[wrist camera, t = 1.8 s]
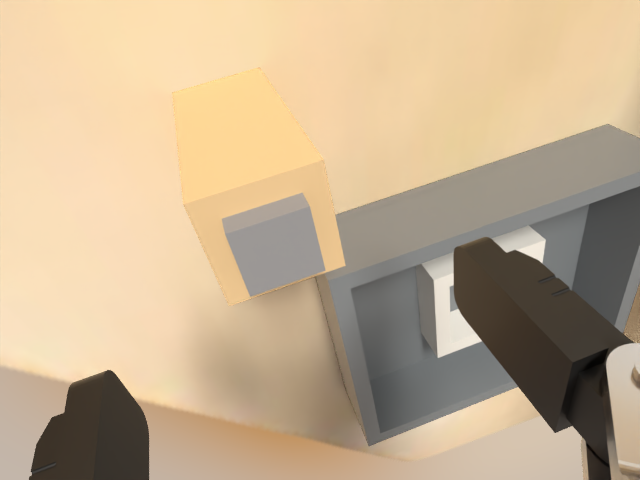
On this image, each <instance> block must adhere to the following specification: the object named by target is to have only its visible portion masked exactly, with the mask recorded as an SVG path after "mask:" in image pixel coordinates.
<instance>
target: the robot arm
mask: <svg viewBox="0 0 640 480" xmlns="http://www.w3.org/2000/svg"><path fill="white" fill-rule="evenodd" d="M453 262H454V298H455V301H456V304H457V307H458V309H459V311H460V313H461V314H462V316H463V317H464V319H465V320H466V321H467V323H468V324H469V325H470V326H471V328H472V329H473V330H474V331H475V333H476V334H477V335H478V336H479V338H480V339H481V340H482V342H483V343H484V344H485V345H486V347H487V348H488V349H489V350H490V352H491V353H492V354H493V355H494V357H495V358H496V359H497V360H498V362H499V363H500V364H501V365H502V367H503V368H504V369H505V370H506V372H507V373H508V374H509V376H510V377H511V378H512V379H513V381H514V382H515V383H516V384H517V386H518V387H519V388H520V389H521V391H522V392H523V393H524V394H525V396H526V397H527V398H528V399H529V401H530V402H531V403H532V404H533V406H534V407H535V408H536V410H537V411H538V412H539V413H540V415H541V416H542V417H543V418H544V420H545V421H546V422H547V423H548V425H549V426H550V427H551V428H552V430H553V431H554V432H555V433H556V432H558V431H561V430H563V429H565V428H568V427H570V426H573V427H574V428H575V429H576V430H577V431H578V432H579V434H580V435H581V436H582V440H581V452H582V466H583V480H640V343H634V342H633V341H631V340H630V339H629V338H627V337H626V336H625V335H624V334H623V333H621V332H620V331H619V330H618V329H617V328H616V327H615V326H613V325H612V324H611V323H610V322H609V321H608V320H607V319H605V318H604V317H603V316H602V315H601V314H600V313H598V312H597V311H596V310H595V309H594V308H593V307H592V306H590V305H589V304H588V303H587V302H586V301H585V300H584V299H582V298H581V297H580V296H579V295H578V294H577V293H576V292H574V291H573V290H572V291H571V290H570V289H569V286H567V285H566V284H565V283H564V282H563V281H562V280H561V279H559V278H556V277H555V274H554V273H553V272H551V271H550V270H549V269H548V268H547V267H546V266H545V265H543V264H542V263H541V262H540V261H539V260H537V259H535V258H533V257H531V256H528V255H526V254H524V253H522V252H519V251H517V250H513V251H510V252H507V253H506V252H505V251H504V250H503V249H502V248H501V247H500V246H499V245H498V244H497V243H495V242H494V241H493V240H492V239H491V238H489V237H483V238H480V239H477V240H474V241H471V242H469V243H466V244H463V245H460V246H457V247H456V248H455V249H454V254H453ZM31 472H32V476H30V477H29V480H149V431H148V425H147V421H146V418H145V415H144V413H143V411H142V409H141V407H140V406H139V405H138V403H137V402H136V401H135V399H134V398H133V397H132V396H131V394H130V393H129V392H128V390H127V389H126V388H125V386H124V385H123V384H122V382H121V381H120V380H119V378H118V377H117V376H116V374H115V373H114V372H112V371H111V370H107V371H105V372H102V373H99V374H96V375H93V376H91V377H88V378H85V379H82V380H79V381H77V382H74V383H72V384H71V385H70V387H69V390H68V394H67V400H66V406H65V412H64V413H63V414H60V415H57V416H55V417H52V418H51V420H50V422H49V423H48V425H47V427H46V429H45V430H44V432H43V434H42V436H41V438H40V439H39V441H38V443H37V445H36V449H35V454H34V459H33V463H32V469H31Z"/></svg>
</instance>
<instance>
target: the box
mask: <svg viewBox="0 0 640 480" xmlns="http://www.w3.org/2000/svg"><path fill="white" fill-rule="evenodd" d="M335 217H336V222H337V226H338V231H339V236H340V241H341V246H342V250H343V255H344V260H345V265H346V266H344V267H341V268H338V269H335V270H332V271H329V272H326V273H323V274H321V275H318V276H315V277H316V281H317V284H318V288H319V292H320V295H321V299H322V303H323V307H324V310H325V314H326V318H327V322H328V325H329V329H330V333H331V337H332V340H333V344H334V348H335V351H336V355H337V359H338V363H339V366H340V370H341V374H342V378H343V381H344V385H345V389H346V391H347V394H348V396H349V399H350V401H351V403H352V406H353V408H354V411H355V413H356V416H357V418H358V421H359V423H360V426H361V428H362V431H363V433H364V436H365V438H366V441H367V443H368V445H369V446H371V445H373V444H376V443H378V442H381V441H383V440H386V439H388V438H391V437H393V436H396V435H398V434H401V433H403V432H406V431H408V430H411V429H413V428H416V427H418V426H421V425H423V424H426V423H428V422H431V421H433V420H436V419H438V418H441V417H443V416H446V415H448V414H451V413H453V412H456V411H458V410H461V409H463V408H466V407H468V406H471V405H473V404H476V403H478V402H481V401H484V400H486V399H489V398H491V397H494V396H496V395H499V394H501V393H504V392H506V391H509V390H511V389H514V388H516V387H518V386H517V384H516V383H515V382H514V381H513V379H512V378H511V377H510V376H509V374H508V373H507V372H506V370H505V369H504V368H503V367H502V365H501V364H500V363H499V362H498V360H497V359H496V358H495V357H494V355H493V354H492V353H491V352H490V350H489V349H488V348H487V347H486V345H485V344H484V343H483V342H482V340H481V339H480V338H479V336H478V335H477V334H476V333H475V331H474V330H473V329H472V328H471V326H470V325H469V324H468V323H467V321H466V320H465V319H464V317H463V316H462V314H461V313H460V311H459V309H458V307H457V304H456V301H455V298H454V262H453V254H454V249H455V248H456V247H457V246H460V245H463V244H466V243H469V242H471V241H474V240H477V239H480V238H483V237H489V238H491V239H492V240H493V241H494V242H495V243H497V244H498V245H499V246H500V247H501V248H502V249H503V250H504V251H505V252H506V253H507V252H510V251H513V250H517V251H519V252H522V253H524V254H526V255H528V256H531V257H533V258H535V259H537V260H539V261H540V262H541V263H542V264H543V265H545V266H546V267H547V268H548V269H549V270H550V271H551V272H553V273H554V274H555V277H556V278H559V279H561V280H562V281H563V282H564V283H565V284H566V285H567V286H569V289H570V290H571V291H572V290H573V291H574V292H576V293H577V294H578V295H579V296H580V297H581V298H582V299H584V300H585V301H586V302H587V303H588V304H589V305H590V306H592V307H593V308H594V309H595V310H596V311H597V312H598V313H600V314H601V315H602V316H603V317H604V318H605V319H607V320H608V321H609V322H610V323H611V324H612V325H613V326H615V327H616V328H617V329H618V330H619V331H620V332H621V333H623V332H624V328H625V325H626V322H627V319H628V316H629V313H630V310H631V307H632V304H633V301H634V298H635V295H636V292H637V289H638V286H639V283H640V138H638V137H636V136H633V135H631V134H629V133H627V132H625V131H622V130H620V129H618V128H616V127H614V126H611V125H609V124H607V125H604V126H601V127H598V128H595V129H592V130H589V131H586V132H583V133H580V134H577V135H574V136H571V137H568V138H565V139H562V140H559V141H556V142H553V143H550V144H547V145H544V146H541V147H538V148H535V149H532V150H529V151H526V152H523V153H520V154H517V155H514V156H511V157H508V158H505V159H502V160H499V161H496V162H493V163H490V164H487V165H484V166H481V167H478V168H475V169H472V170H469V171H466V172H463V173H460V174H457V175H454V176H451V177H448V178H445V179H442V180H439V181H436V182H433V183H430V184H427V185H424V186H421V187H418V188H415V189H412V190H409V191H406V192H403V193H400V194H397V195H394V196H391V197H388V198H385V199H382V200H379V201H376V202H373V203H370V204H367V205H364V206H361V207H358V208H355V209H352V210H349V211H346V212H343V213H340V214H337V215H335Z"/></svg>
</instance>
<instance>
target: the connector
mask: <svg viewBox="0 0 640 480" xmlns="http://www.w3.org/2000/svg"><path fill="white" fill-rule="evenodd" d="M172 95H173V105H174V115H175V125H176V136H177V146H178V156H179V166H180V176H181V186H182V197H183V205H184V207H185V209H186V212H187V214H188V216H189V218H190V220H191V223H192V225H193V227H194V229H195V231H196V234H197V236H198V238H199V240H200V243H201V245H202V247H203V249H204V251H205V254H206V256H207V258H208V260H209V263H210V265H211V267H212V269H213V271H214V274H215V276H216V278H217V280H218V283H219V285H220V287H221V289H222V291H223V294H224V296H225V298H226V300H227V302H228V305H229V306H232V305H234V304H237V303H240V302H243V301H246V300H249V299H252V298H255V297H257V296H260V295H263V294H266V293H269V292H272V291H275V290H278V289H280V288H283V287H286V286H289V285H292V284H295V283H298V282H300V281H303V280H306V279H309V278H312V277H315V276H318V275H321V274H323V273H326V272H329V271H332V270H335V269H338V268H341V267H344V266H346V265H345V260H344V255H343V250H342V246H341V241H340V236H339V231H338V226H337V222H336V217H335V212H334V207H333V202H332V198H331V193H330V188H329V183H328V178H327V174H326V169H325V164H324V159H323V158H322V157H321V155H320V154H319V152H318V151H317V149H316V148H315V147H314V145H313V144H312V142H311V141H310V139H309V138H308V137H307V135H306V134H305V132H304V131H303V129H302V128H301V127H300V125H299V124H298V122H297V121H296V119H295V118H294V116H293V115H292V114H291V112H290V111H289V109H288V108H287V106H286V105H285V104H284V102H283V101H282V99H281V98H280V96H279V95H278V94H277V92H276V91H275V89H274V88H273V86H272V85H271V84H270V82H269V81H268V79H267V78H266V76H265V75H264V73H263V72H262V71H261V69H260V68H256V69H253V70H249V71H246V72H242V73H239V74H235V75H232V76H228V77H225V78H221V79H218V80H215V81H211V82H208V83H204V84H201V85H197V86H194V87H190V88H187V89H183V90H180V91H176V92H173V93H172Z"/></svg>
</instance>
